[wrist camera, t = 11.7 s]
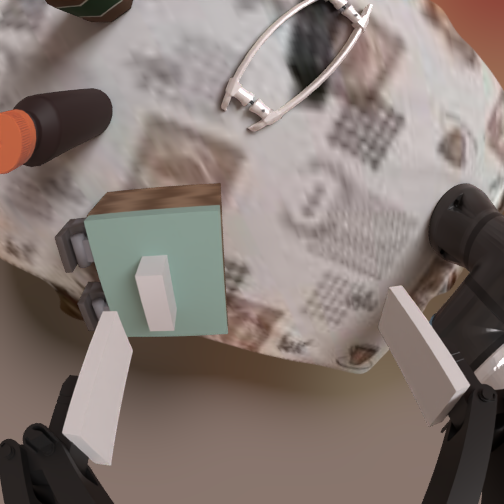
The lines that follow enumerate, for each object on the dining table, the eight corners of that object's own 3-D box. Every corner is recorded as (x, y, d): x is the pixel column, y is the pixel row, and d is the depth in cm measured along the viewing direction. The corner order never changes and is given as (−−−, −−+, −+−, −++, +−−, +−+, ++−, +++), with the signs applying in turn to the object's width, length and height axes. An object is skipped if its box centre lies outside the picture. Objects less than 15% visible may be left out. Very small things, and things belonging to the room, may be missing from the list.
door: (219, 204, 33) (220, 227, 29) (227, 325, 43) (229, 355, 38) (69, 217, 32) (50, 239, 27) (105, 329, 41) (96, 356, 36)
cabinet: (220, 183, 40) (221, 212, 32) (225, 291, 49) (228, 336, 41) (81, 195, 38) (51, 225, 30) (107, 296, 48) (91, 338, 39)
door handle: (379, 22, 30) (265, 142, 39) (328, -26, 26) (205, 96, 35) (389, 19, 28) (268, 145, 36) (335, -32, 24) (205, 97, 32)
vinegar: (72, 87, 31) (-26, 103, 13) (117, 89, 32) (35, 99, 15) (66, 135, 34) (-26, 183, 17) (110, 139, 35) (31, 189, 18)
